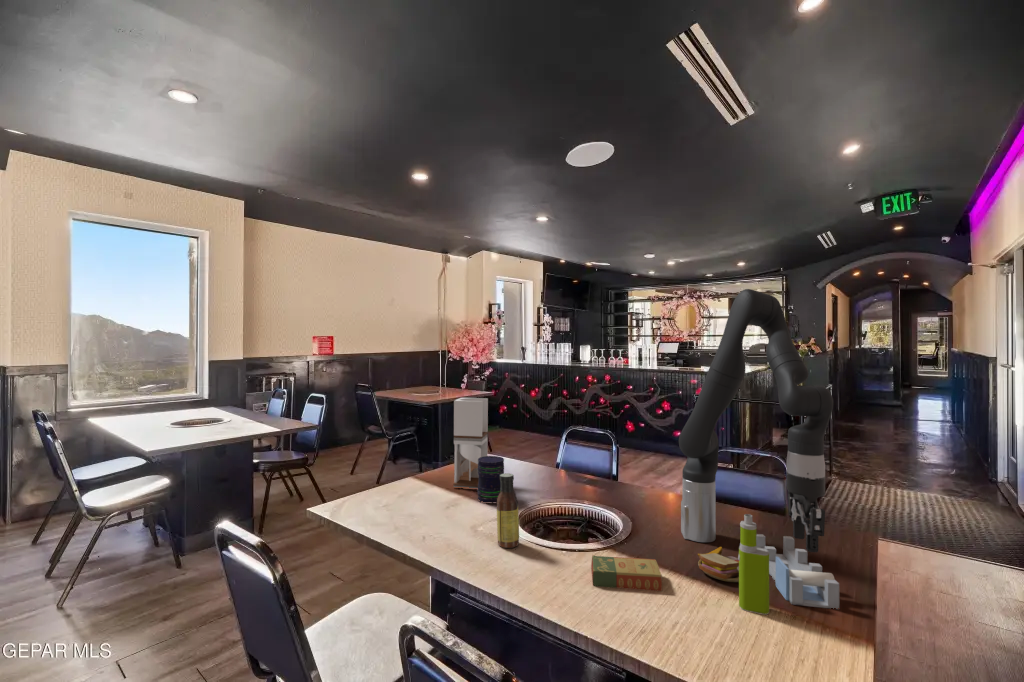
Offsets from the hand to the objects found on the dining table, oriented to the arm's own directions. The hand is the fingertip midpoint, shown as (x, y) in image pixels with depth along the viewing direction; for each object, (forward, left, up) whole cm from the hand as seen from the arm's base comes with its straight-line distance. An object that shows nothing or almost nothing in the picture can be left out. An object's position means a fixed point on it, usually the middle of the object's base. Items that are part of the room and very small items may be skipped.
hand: (805, 544), depth 107 cm
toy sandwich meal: (-15, +8, -12) cm, 21 cm away
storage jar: (-86, +50, -12) cm, 101 cm away
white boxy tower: (-98, +65, -12) cm, 118 cm away
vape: (-13, -8, -12) cm, 20 cm away
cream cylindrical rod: (0, 0, -9) cm, 9 cm away
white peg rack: (0, +8, -12) cm, 14 cm away
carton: (-40, -1, -12) cm, 42 cm away
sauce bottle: (-72, +13, -12) cm, 74 cm away
